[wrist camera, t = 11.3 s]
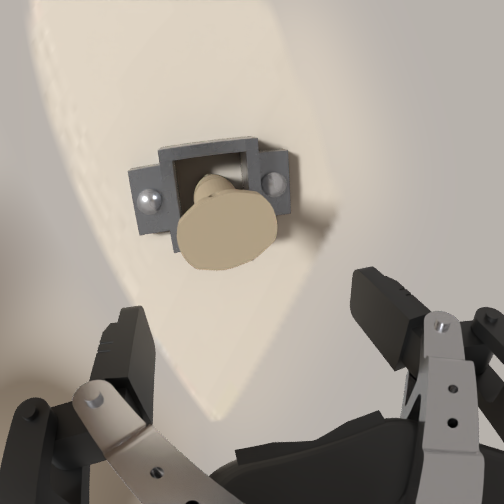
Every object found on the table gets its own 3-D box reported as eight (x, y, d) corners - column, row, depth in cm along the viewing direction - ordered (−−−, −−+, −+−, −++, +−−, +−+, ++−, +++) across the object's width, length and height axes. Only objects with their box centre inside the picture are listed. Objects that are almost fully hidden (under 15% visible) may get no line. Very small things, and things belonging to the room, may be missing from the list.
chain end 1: (128, 153, 30) (120, 157, 26) (238, 137, 31) (245, 138, 28) (144, 243, 34) (140, 258, 30) (246, 228, 36) (253, 240, 32)
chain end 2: (172, 145, 30) (170, 148, 27) (281, 134, 32) (293, 135, 28) (185, 237, 35) (185, 251, 31) (286, 222, 36) (297, 234, 33)
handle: (176, 177, 32) (165, 216, 18) (232, 156, 32) (265, 180, 19) (191, 217, 34) (194, 281, 20) (246, 197, 34) (285, 248, 21)
